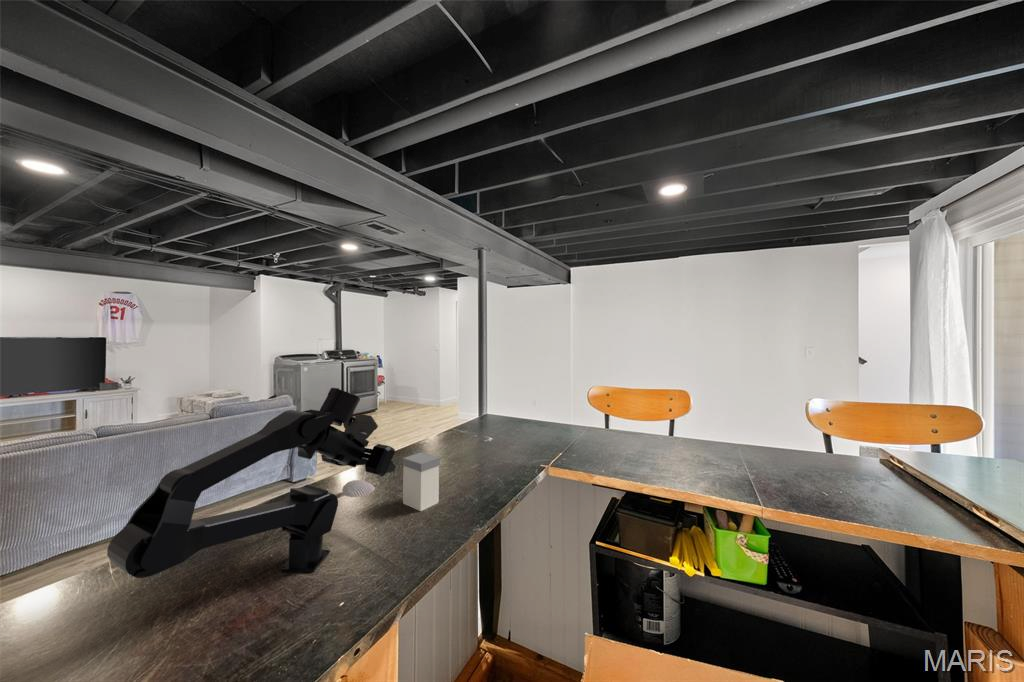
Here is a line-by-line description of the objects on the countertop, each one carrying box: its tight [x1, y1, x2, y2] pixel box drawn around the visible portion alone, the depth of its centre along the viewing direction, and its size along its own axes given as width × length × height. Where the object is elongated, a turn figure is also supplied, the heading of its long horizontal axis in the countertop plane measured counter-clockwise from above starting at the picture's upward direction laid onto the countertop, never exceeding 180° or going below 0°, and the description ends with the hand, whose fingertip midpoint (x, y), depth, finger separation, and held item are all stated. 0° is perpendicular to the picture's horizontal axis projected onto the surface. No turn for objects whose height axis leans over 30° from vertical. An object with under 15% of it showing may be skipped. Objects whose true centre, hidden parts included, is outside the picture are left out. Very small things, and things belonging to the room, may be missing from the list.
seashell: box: [340, 479, 376, 498], centre depth 104 cm, size 10×6×10 cm
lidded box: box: [402, 451, 441, 512], centre depth 96 cm, size 6×7×12 cm
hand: (380, 465), depth 90 cm, fingers open, 9 cm apart
